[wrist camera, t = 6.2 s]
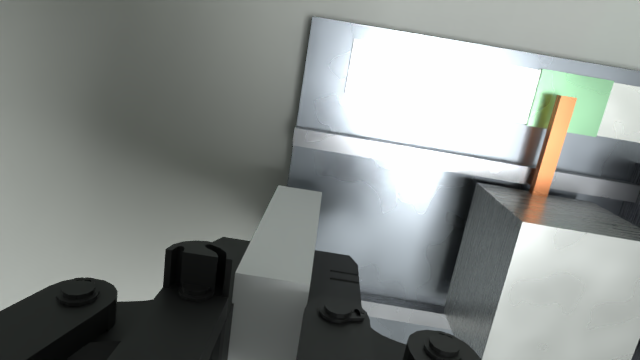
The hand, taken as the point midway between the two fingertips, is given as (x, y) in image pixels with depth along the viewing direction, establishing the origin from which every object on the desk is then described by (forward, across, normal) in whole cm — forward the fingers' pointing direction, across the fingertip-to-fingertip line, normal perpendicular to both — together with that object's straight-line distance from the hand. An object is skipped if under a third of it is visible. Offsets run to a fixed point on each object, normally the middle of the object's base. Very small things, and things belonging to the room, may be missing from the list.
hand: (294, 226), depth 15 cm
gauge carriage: (+1, +8, +1) cm, 8 cm away
